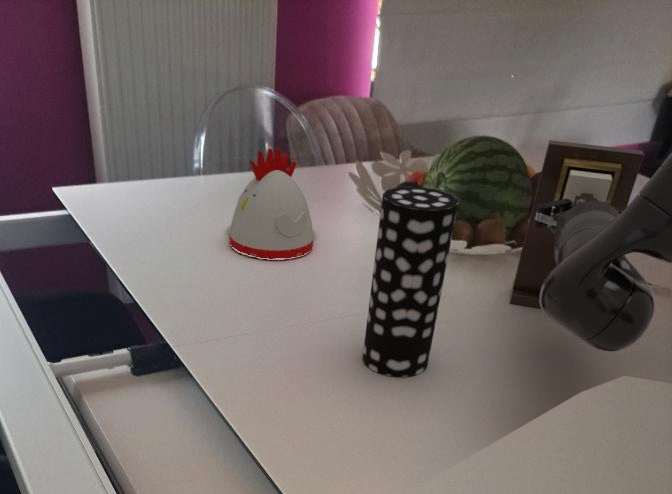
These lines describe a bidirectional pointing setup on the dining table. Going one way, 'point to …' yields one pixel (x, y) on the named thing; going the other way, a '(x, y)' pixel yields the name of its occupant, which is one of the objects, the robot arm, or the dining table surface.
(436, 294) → the spotted tube
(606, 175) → the switch button
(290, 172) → the kitchen timer
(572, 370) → the dining table surface
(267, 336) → the dining table surface
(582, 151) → the wall panel
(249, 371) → the dining table surface
